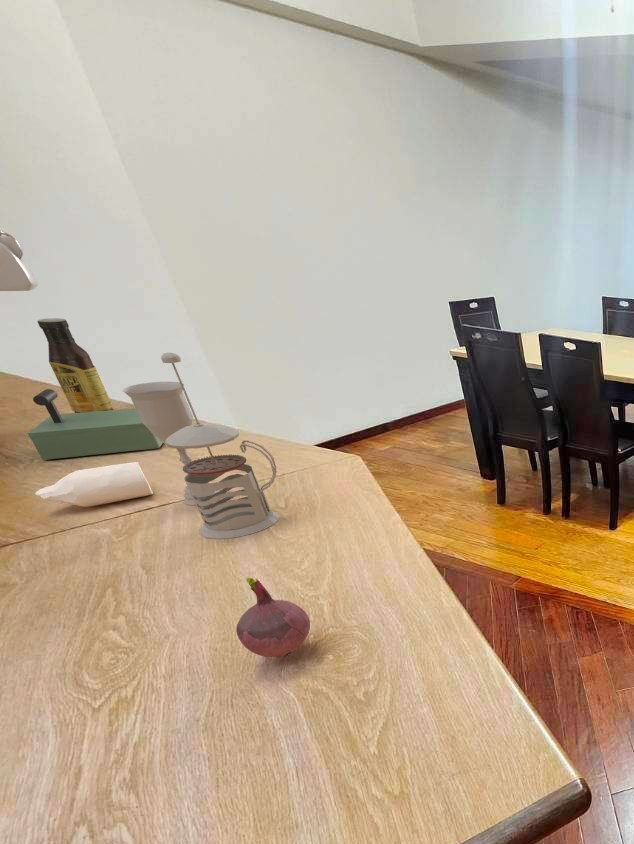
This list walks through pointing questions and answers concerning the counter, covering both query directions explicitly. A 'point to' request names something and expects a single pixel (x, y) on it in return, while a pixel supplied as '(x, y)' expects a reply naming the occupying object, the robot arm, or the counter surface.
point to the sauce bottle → (74, 369)
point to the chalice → (164, 414)
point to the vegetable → (272, 625)
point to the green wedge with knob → (89, 431)
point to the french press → (222, 515)
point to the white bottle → (99, 485)
